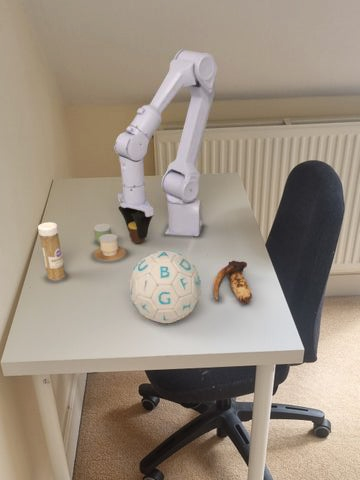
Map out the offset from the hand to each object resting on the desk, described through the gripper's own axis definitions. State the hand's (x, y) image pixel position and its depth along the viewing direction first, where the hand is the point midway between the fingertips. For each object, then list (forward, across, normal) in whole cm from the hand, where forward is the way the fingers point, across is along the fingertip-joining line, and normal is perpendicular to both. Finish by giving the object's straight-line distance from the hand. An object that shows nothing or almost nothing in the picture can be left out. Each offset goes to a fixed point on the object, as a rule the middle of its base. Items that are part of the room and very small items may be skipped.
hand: (137, 234), depth 158 cm
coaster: (+3, +1, -9) cm, 10 cm away
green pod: (+3, -8, -6) cm, 10 cm away
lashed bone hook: (+3, +36, +3) cm, 36 cm away
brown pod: (+1, 0, 0) cm, 1 cm away
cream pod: (+2, +1, -9) cm, 10 cm away
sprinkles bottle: (+3, +4, -26) cm, 27 cm away
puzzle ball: (+3, +37, -16) cm, 40 cm away
